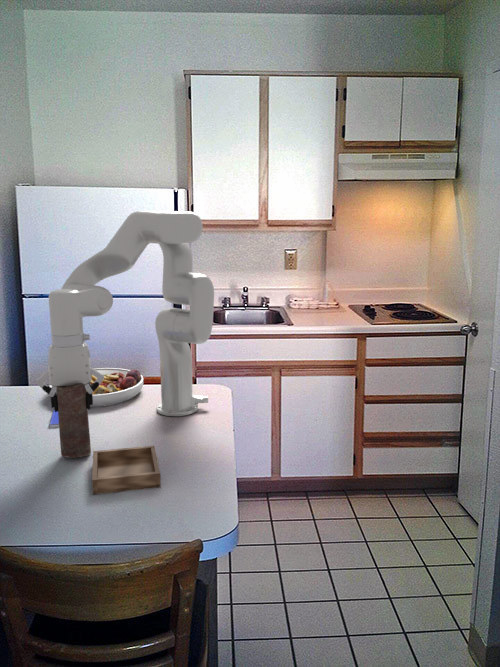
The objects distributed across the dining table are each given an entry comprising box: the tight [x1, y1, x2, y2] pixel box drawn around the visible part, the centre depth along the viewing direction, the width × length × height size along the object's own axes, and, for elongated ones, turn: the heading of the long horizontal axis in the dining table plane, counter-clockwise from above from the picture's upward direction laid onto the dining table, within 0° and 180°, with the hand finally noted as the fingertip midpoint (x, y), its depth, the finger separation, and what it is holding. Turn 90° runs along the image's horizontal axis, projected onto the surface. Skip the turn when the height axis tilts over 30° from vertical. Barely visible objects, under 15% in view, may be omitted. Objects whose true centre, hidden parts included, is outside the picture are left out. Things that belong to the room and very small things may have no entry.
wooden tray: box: [91, 445, 161, 495], centre depth 148 cm, size 15×16×4 cm
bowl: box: [48, 367, 144, 408], centre depth 206 cm, size 30×30×8 cm
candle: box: [56, 383, 92, 459], centre depth 157 cm, size 8×7×20 cm
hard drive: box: [49, 410, 59, 429], centre depth 185 cm, size 2×8×12 cm
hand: (72, 408), depth 156 cm, fingers closed on candle, 7 cm apart
